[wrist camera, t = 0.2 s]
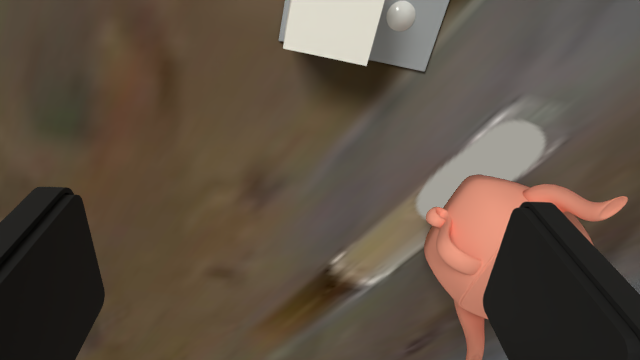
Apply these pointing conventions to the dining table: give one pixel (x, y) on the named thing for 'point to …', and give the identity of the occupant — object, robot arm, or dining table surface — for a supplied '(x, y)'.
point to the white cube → (333, 28)
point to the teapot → (489, 239)
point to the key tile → (401, 31)
